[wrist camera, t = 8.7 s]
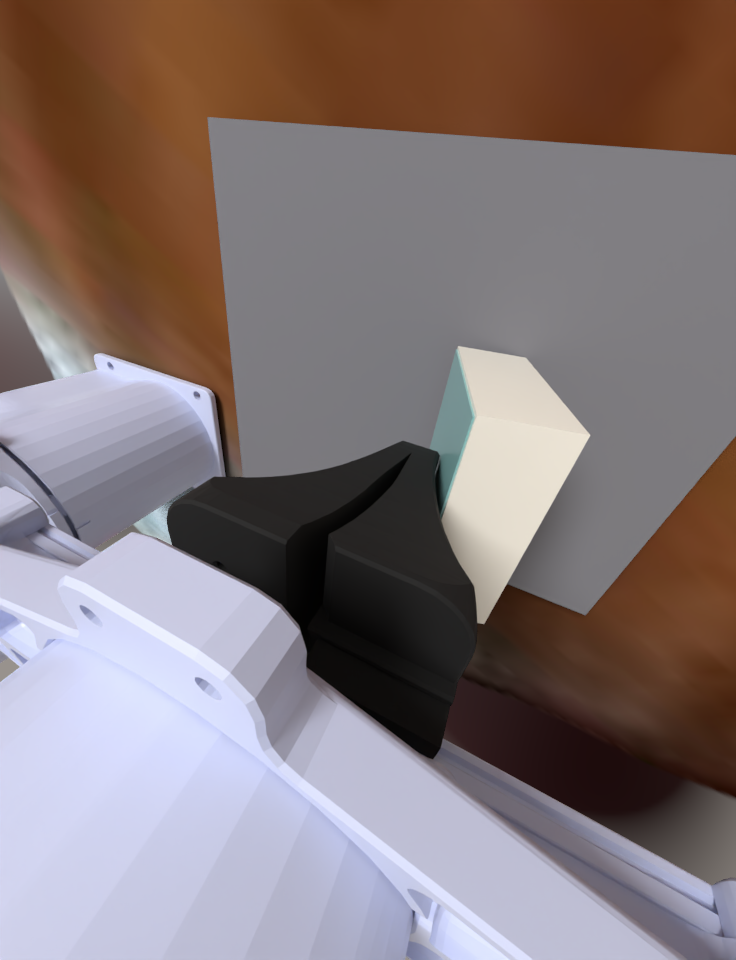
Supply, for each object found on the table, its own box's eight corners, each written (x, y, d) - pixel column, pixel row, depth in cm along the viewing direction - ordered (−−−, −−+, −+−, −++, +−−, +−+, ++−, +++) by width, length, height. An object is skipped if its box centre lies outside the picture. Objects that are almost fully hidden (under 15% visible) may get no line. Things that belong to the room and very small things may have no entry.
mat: (251, 471, 22) (242, 477, 22) (223, 124, 13) (207, 117, 13) (584, 602, 17) (585, 615, 17) (925, 177, 8) (957, 170, 7)
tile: (415, 498, 16) (409, 608, 11) (456, 345, 12) (474, 414, 7) (467, 508, 16) (483, 624, 11) (525, 357, 12) (590, 435, 7)
